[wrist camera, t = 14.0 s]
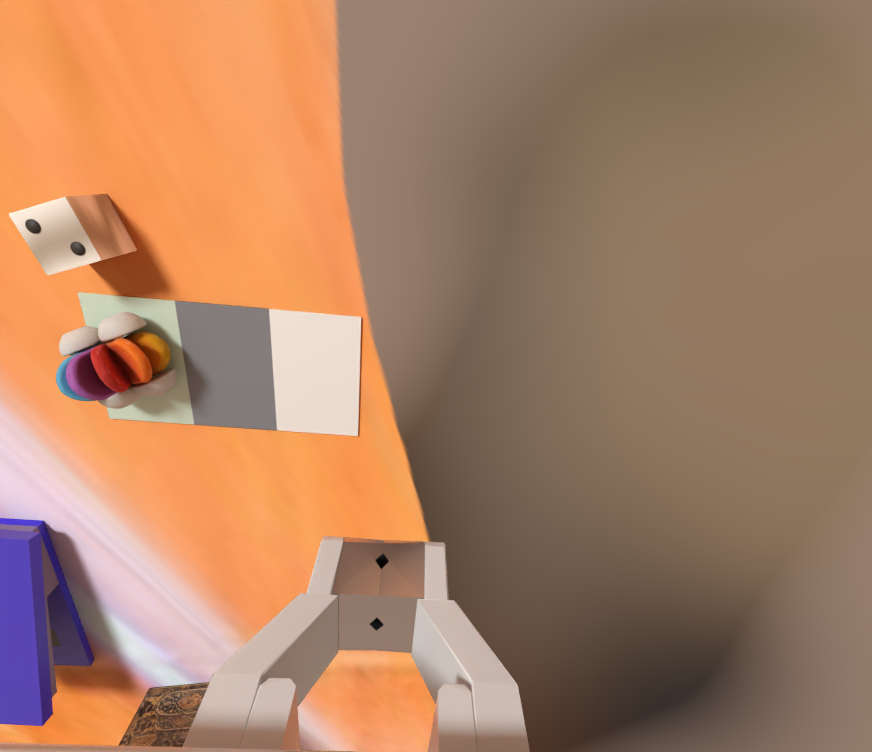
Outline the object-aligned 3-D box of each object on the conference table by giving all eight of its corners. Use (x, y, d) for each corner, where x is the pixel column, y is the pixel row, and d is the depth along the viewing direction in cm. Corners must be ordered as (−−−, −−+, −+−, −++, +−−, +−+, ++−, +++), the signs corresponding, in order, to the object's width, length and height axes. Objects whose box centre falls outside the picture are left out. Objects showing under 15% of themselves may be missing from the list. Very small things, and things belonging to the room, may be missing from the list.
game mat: (79, 292, 42) (77, 292, 42) (361, 316, 44) (361, 317, 43) (110, 417, 48) (109, 418, 48) (358, 435, 49) (357, 436, 49)
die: (57, 209, 39) (7, 213, 34) (107, 193, 38) (64, 196, 34) (89, 264, 41) (46, 275, 36) (137, 250, 40) (100, 260, 36)
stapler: (22, 654, 65) (-41, 731, 56) (-47, 509, 53) (-141, 577, 44) (102, 657, 66) (52, 733, 57) (52, 515, 54) (-21, 583, 45)
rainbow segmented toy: (197, 375, 46) (159, 409, 39) (118, 402, 47) (67, 439, 40) (150, 300, 42) (99, 324, 36) (65, 331, 43) (1, 359, 37)
